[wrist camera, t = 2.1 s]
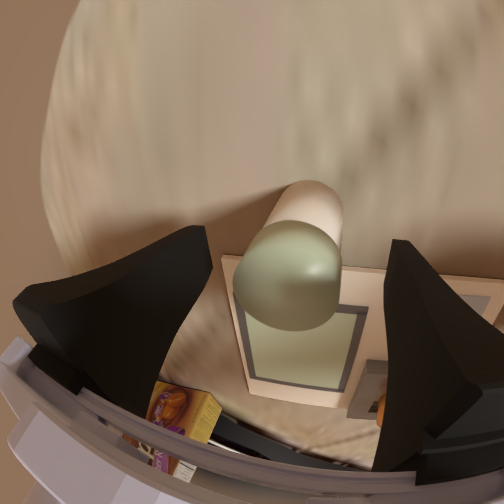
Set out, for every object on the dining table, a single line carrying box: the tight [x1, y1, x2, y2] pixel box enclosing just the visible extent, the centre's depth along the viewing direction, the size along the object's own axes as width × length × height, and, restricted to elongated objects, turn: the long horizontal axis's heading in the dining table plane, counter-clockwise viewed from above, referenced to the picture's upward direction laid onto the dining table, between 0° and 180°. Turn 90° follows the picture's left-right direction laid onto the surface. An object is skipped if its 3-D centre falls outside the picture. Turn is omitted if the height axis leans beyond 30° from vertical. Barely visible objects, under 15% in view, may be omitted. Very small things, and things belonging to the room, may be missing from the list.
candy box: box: [122, 381, 222, 483], centre depth 25 cm, size 9×4×15 cm, turn 106°
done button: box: [377, 393, 386, 428], centre depth 17 cm, size 4×4×2 cm
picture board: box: [221, 255, 504, 409], centre depth 18 cm, size 18×16×1 cm
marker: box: [232, 180, 343, 331], centre depth 11 cm, size 3×3×6 cm
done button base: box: [347, 359, 388, 420], centre depth 18 cm, size 8×8×1 cm
